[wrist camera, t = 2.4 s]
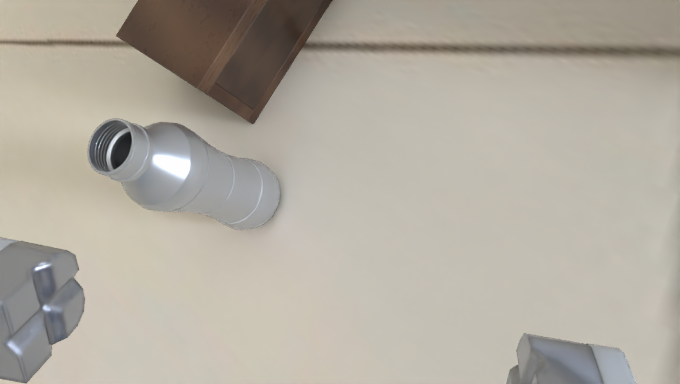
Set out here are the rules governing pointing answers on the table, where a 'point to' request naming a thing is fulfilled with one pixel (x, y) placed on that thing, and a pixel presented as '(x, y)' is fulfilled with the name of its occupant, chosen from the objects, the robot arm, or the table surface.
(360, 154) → the table surface
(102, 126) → the plastic bottle
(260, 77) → the dark wooden box
